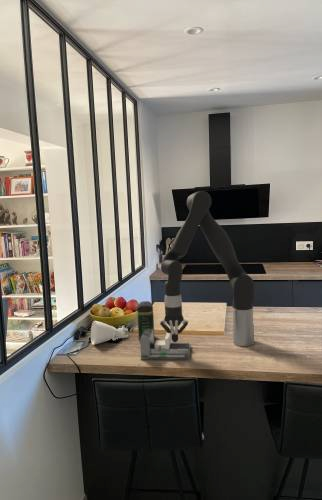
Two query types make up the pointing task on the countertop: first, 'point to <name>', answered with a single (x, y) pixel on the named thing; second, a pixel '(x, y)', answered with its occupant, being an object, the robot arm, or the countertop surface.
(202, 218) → the robot arm
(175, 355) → the frame
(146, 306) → the coffee jar
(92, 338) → the funnel
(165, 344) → the cream t-shaped handle
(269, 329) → the countertop surface
